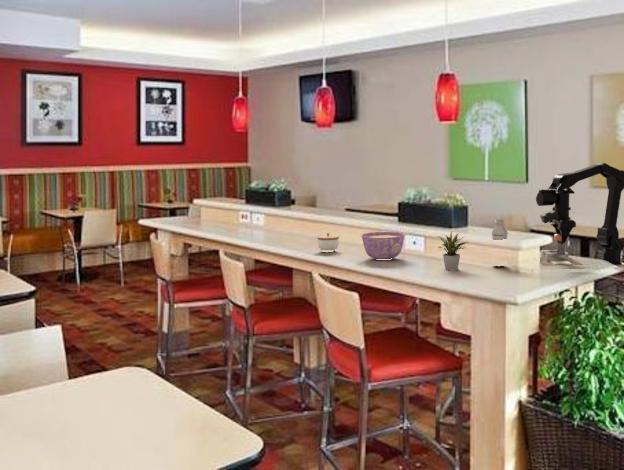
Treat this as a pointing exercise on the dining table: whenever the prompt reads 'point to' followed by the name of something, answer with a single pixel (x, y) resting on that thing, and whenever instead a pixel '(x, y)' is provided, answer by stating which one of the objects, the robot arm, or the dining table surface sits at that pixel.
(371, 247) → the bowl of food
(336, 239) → the lidded jar
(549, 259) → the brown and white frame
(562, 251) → the copper knob
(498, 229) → the plastic bottle
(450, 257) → the house plant
